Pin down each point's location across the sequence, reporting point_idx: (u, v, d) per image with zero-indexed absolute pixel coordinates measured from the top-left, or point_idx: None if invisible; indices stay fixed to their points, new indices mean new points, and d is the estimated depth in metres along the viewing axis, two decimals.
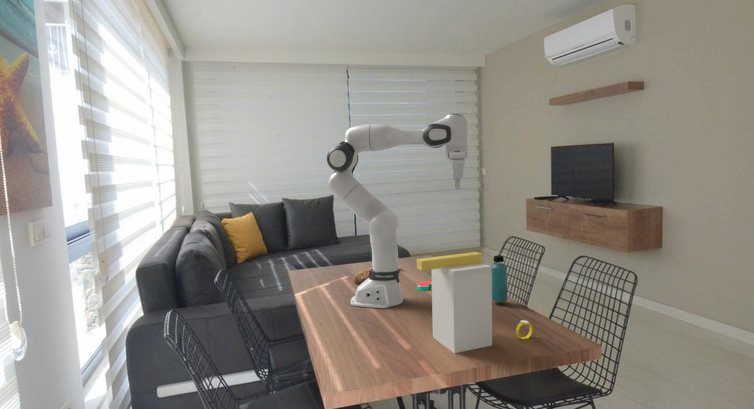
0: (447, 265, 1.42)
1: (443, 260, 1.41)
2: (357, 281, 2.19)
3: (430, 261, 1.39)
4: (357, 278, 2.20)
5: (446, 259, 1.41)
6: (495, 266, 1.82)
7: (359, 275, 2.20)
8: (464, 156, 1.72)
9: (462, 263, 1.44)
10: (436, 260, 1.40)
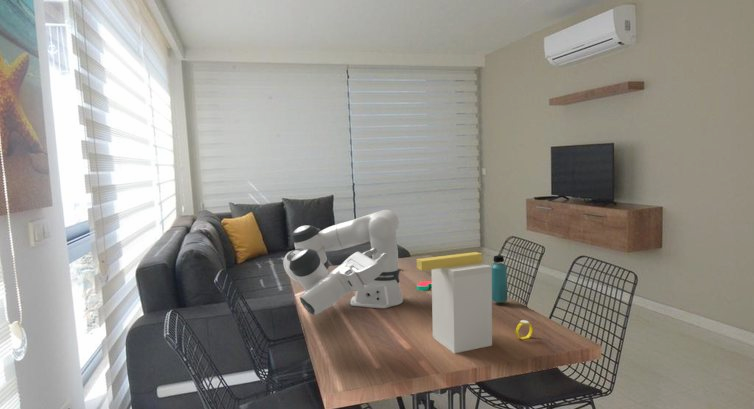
0: (447, 265, 1.42)
1: (443, 260, 1.41)
2: None
3: (430, 261, 1.39)
4: None
5: (446, 259, 1.41)
6: (495, 266, 1.82)
7: None
8: (353, 274, 1.35)
9: (462, 263, 1.44)
10: (436, 260, 1.40)
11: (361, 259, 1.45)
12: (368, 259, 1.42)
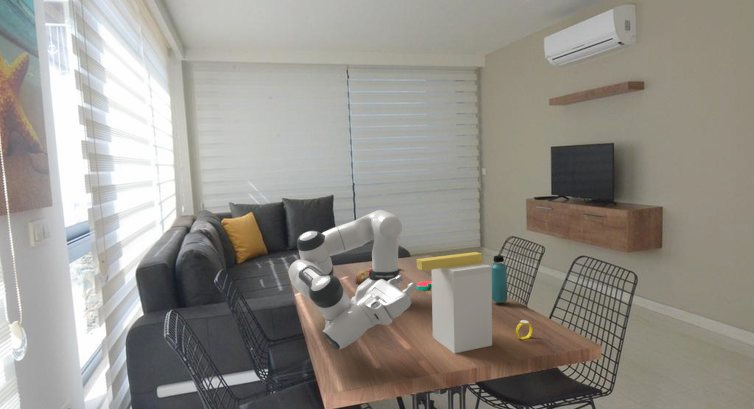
0: (447, 265, 1.42)
1: (443, 260, 1.41)
2: (358, 281, 2.20)
3: (430, 261, 1.39)
4: (358, 278, 2.20)
5: (446, 259, 1.41)
6: (495, 266, 1.82)
7: (360, 275, 2.20)
8: (381, 307, 1.26)
9: (462, 263, 1.44)
10: (436, 260, 1.40)
11: (386, 288, 1.37)
12: (395, 289, 1.33)
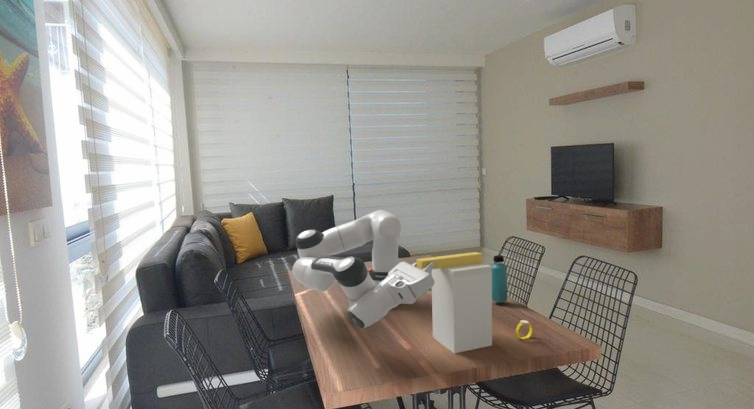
0: (447, 265, 1.42)
1: (443, 260, 1.41)
2: None
3: (430, 261, 1.39)
4: None
5: (446, 259, 1.41)
6: (495, 266, 1.82)
7: None
8: (405, 287, 1.29)
9: (462, 263, 1.44)
10: (436, 260, 1.40)
11: (409, 270, 1.40)
12: (418, 270, 1.36)
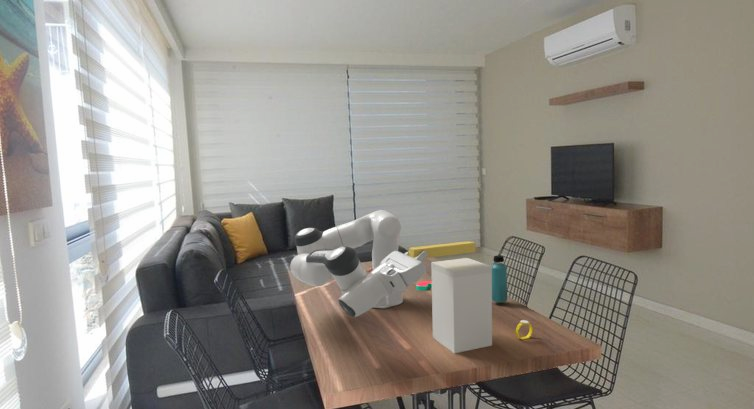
0: (440, 254, 1.40)
1: (436, 249, 1.39)
2: None
3: (422, 250, 1.38)
4: None
5: (439, 248, 1.40)
6: (495, 266, 1.82)
7: None
8: (397, 275, 1.28)
9: (455, 252, 1.42)
10: (429, 249, 1.38)
11: (401, 258, 1.38)
12: (410, 258, 1.35)
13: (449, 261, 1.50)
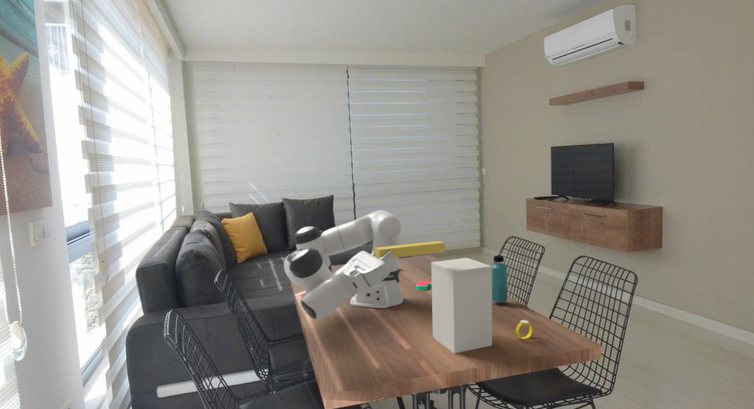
0: (407, 254, 1.36)
1: (402, 249, 1.35)
2: None
3: (388, 250, 1.34)
4: None
5: (406, 248, 1.36)
6: (495, 266, 1.82)
7: None
8: (359, 275, 1.24)
9: (423, 252, 1.38)
10: (395, 249, 1.34)
11: (367, 258, 1.34)
12: (375, 259, 1.30)
13: (449, 261, 1.50)
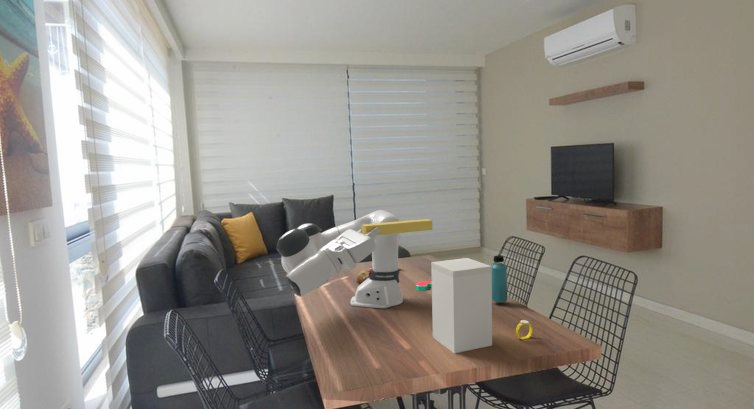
0: (394, 231, 1.34)
1: (389, 226, 1.33)
2: (359, 281, 2.20)
3: (375, 226, 1.32)
4: (359, 278, 2.20)
5: (393, 225, 1.34)
6: (495, 266, 1.82)
7: (361, 275, 2.20)
8: (344, 250, 1.22)
9: (411, 230, 1.36)
10: (382, 225, 1.32)
11: (353, 235, 1.32)
12: (361, 235, 1.28)
13: (449, 261, 1.50)
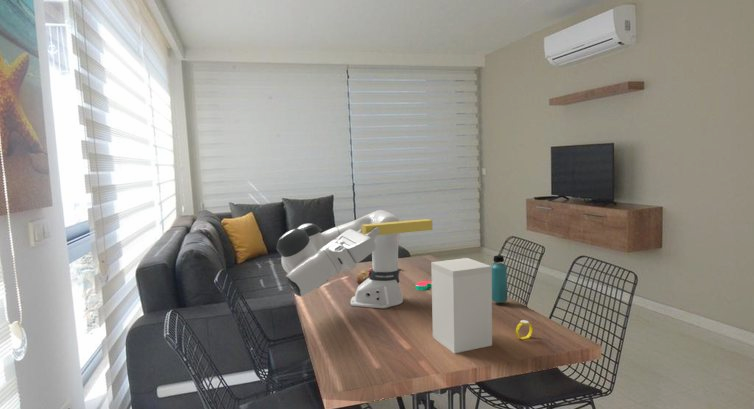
0: (394, 231, 1.34)
1: (389, 226, 1.33)
2: (359, 281, 2.20)
3: (375, 226, 1.32)
4: (359, 278, 2.20)
5: (393, 225, 1.34)
6: (495, 266, 1.82)
7: (361, 275, 2.20)
8: (344, 250, 1.22)
9: (411, 230, 1.36)
10: (382, 225, 1.32)
11: (353, 235, 1.32)
12: (361, 235, 1.28)
13: (449, 261, 1.50)
